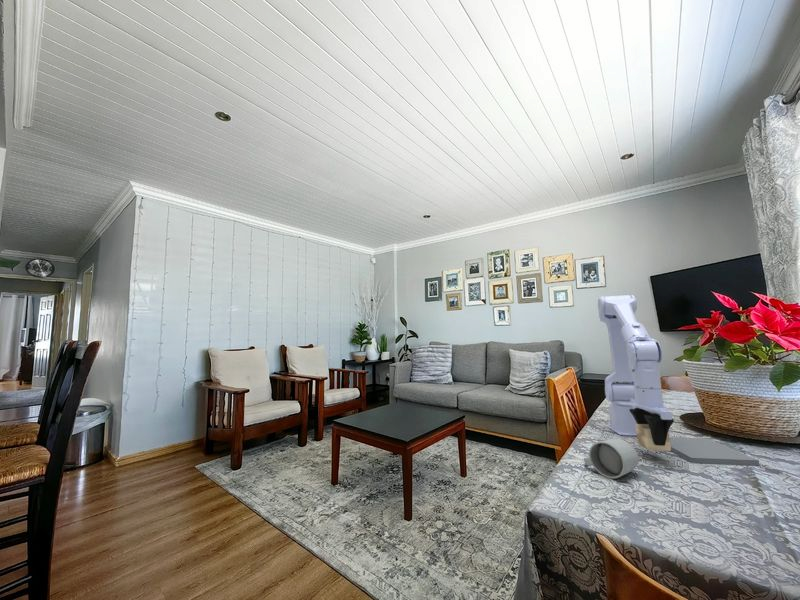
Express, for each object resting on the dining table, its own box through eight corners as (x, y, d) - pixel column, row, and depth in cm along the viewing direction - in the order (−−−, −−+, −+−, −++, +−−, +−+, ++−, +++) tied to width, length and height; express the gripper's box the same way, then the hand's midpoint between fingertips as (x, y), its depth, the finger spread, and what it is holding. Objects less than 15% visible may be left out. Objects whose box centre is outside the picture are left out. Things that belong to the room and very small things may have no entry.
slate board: (653, 441, 94) (652, 436, 94) (708, 442, 91) (707, 438, 92) (691, 462, 78) (691, 457, 78) (759, 465, 76) (758, 460, 76)
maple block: (637, 443, 85) (635, 423, 85) (658, 444, 84) (656, 424, 84) (648, 450, 80) (646, 429, 80) (671, 451, 79) (668, 430, 79)
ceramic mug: (643, 474, 73) (638, 439, 74) (626, 484, 69) (621, 446, 70) (594, 460, 82) (591, 429, 83) (577, 468, 78) (574, 435, 78)
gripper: (617, 382, 91) (621, 431, 90) (646, 392, 77) (652, 451, 76) (644, 382, 90) (649, 432, 89) (679, 392, 76) (686, 452, 74)
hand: (653, 441), depth 82 cm, fingers closed on maple block, 5 cm apart
